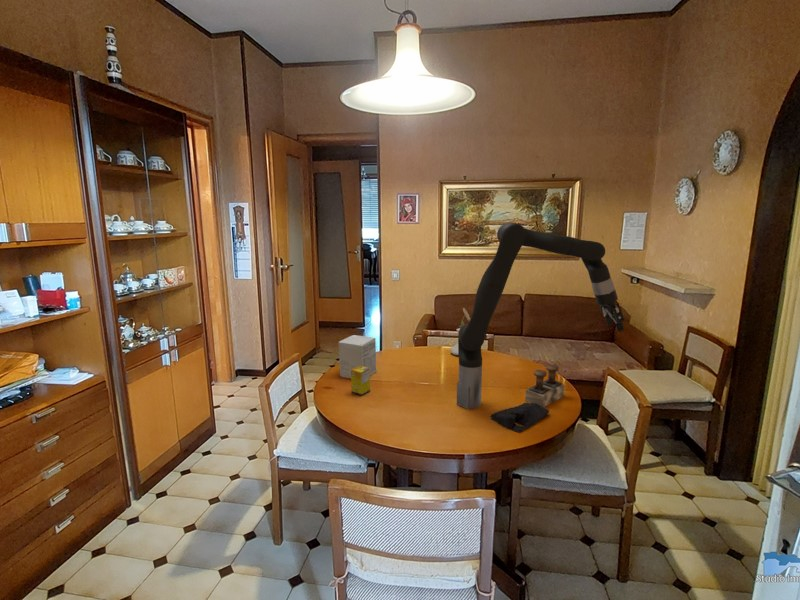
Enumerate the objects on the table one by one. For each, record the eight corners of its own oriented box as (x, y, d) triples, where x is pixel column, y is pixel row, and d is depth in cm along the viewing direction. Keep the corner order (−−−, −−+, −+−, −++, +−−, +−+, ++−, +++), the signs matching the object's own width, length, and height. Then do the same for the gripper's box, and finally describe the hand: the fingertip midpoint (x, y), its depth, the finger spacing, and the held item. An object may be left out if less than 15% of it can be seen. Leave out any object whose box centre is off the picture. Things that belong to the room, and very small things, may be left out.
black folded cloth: (556, 418, 165) (556, 406, 164) (516, 435, 153) (517, 423, 152) (524, 403, 178) (524, 392, 177) (485, 418, 166) (485, 407, 165)
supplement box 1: (377, 371, 213) (376, 337, 210) (362, 381, 202) (361, 345, 198) (354, 367, 219) (353, 334, 216) (339, 376, 208) (337, 341, 204)
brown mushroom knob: (553, 384, 179) (554, 369, 178) (543, 380, 183) (544, 366, 181) (559, 381, 182) (560, 366, 181) (549, 378, 186) (550, 363, 184)
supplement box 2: (360, 388, 194) (359, 365, 192) (370, 391, 191) (369, 367, 188) (351, 392, 190) (350, 369, 187) (361, 396, 186) (360, 372, 184)
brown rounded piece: (541, 390, 174) (542, 375, 172) (530, 386, 177) (531, 371, 176) (548, 387, 177) (548, 372, 175) (537, 383, 180) (538, 368, 179)
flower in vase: (465, 358, 229) (466, 312, 224) (446, 355, 235) (446, 310, 230) (475, 351, 240) (476, 307, 234) (457, 348, 246) (457, 305, 240)
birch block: (542, 407, 173) (543, 394, 172) (525, 401, 179) (525, 387, 178) (563, 396, 183) (564, 383, 182) (546, 390, 189) (547, 377, 188)
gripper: (587, 290, 174) (598, 326, 178) (603, 297, 160) (615, 336, 164) (605, 283, 174) (616, 319, 177) (622, 290, 160) (634, 329, 163)
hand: (615, 327), depth 170 cm, fingers open, 8 cm apart
